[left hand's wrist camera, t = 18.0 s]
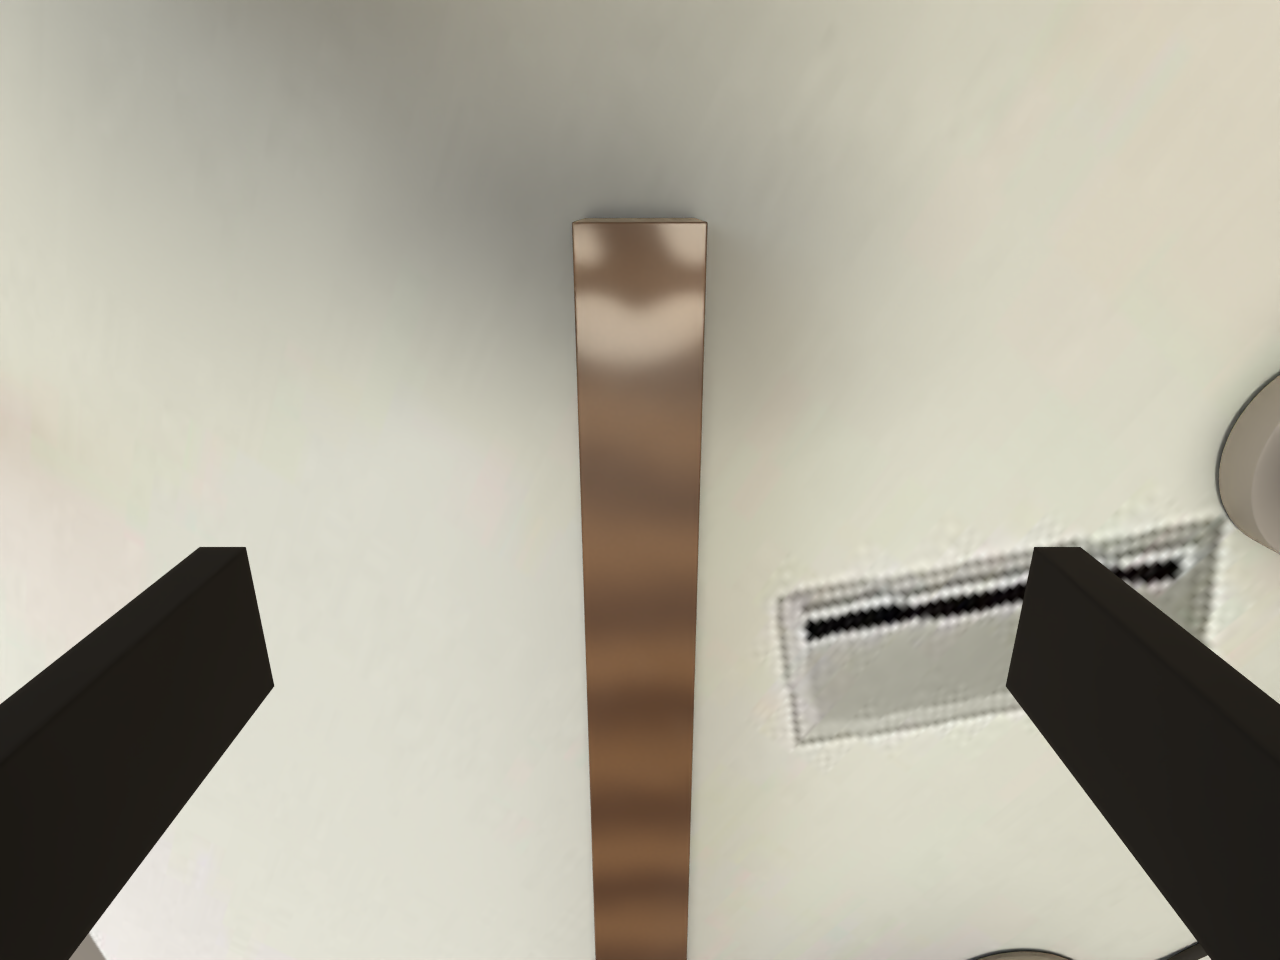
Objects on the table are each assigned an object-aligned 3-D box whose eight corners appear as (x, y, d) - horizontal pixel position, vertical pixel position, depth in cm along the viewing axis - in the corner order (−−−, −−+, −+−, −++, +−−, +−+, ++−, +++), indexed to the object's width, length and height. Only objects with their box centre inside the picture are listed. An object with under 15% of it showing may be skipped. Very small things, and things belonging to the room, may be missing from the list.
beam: (583, 218, 39) (571, 221, 33) (695, 218, 39) (707, 221, 33) (605, 1049, 62) (601, 1153, 56) (676, 1049, 62) (681, 1153, 56)
